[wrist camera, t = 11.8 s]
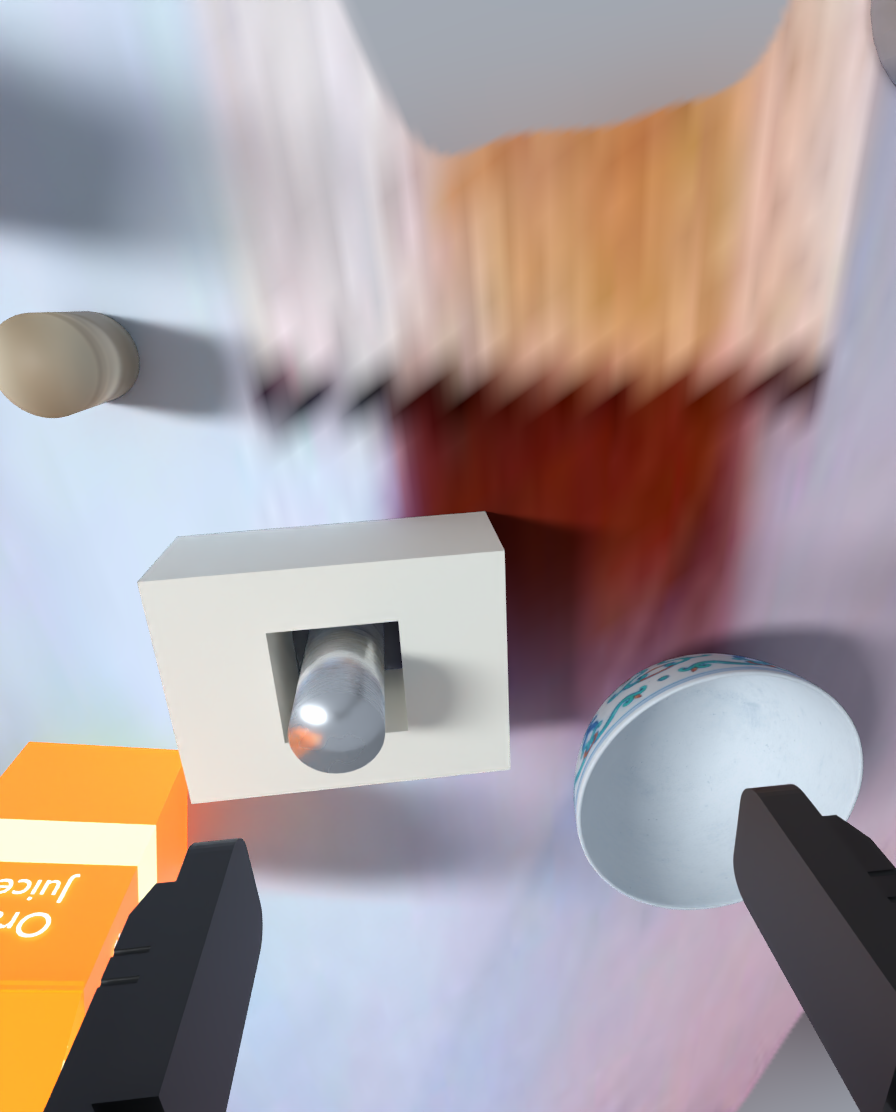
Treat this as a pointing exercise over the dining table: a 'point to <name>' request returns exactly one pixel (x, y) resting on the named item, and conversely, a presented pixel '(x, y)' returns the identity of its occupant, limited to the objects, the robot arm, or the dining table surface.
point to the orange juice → (73, 889)
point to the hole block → (320, 602)
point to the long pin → (340, 699)
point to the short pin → (65, 361)
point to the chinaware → (702, 771)
